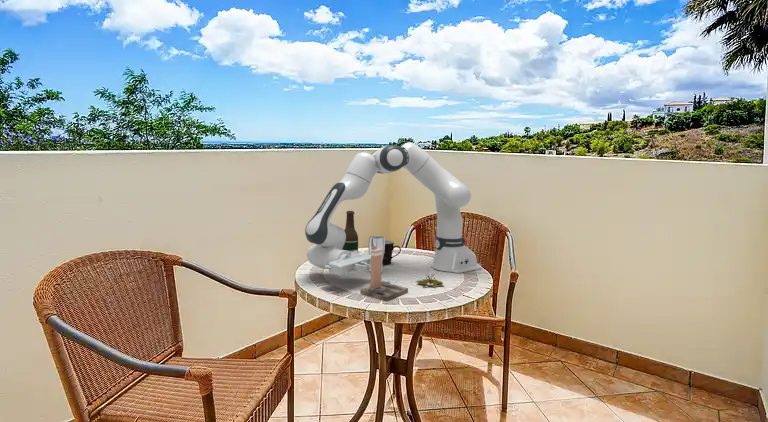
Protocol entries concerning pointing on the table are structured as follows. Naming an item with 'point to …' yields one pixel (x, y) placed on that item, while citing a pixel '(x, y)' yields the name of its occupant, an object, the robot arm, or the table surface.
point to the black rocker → (380, 290)
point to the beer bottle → (350, 233)
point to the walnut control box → (391, 292)
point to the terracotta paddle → (376, 268)
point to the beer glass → (377, 245)
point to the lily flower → (430, 282)
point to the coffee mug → (389, 252)
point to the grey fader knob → (385, 282)
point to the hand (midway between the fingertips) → (368, 267)
